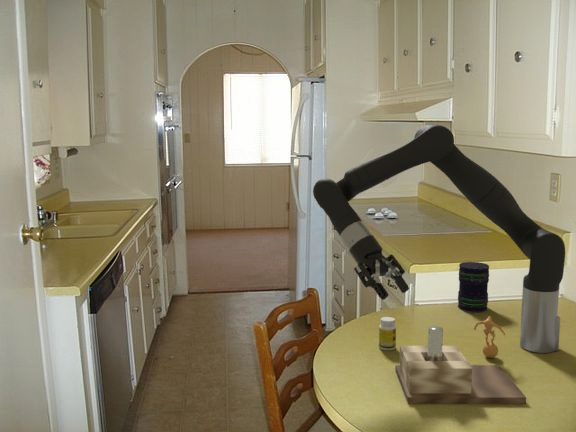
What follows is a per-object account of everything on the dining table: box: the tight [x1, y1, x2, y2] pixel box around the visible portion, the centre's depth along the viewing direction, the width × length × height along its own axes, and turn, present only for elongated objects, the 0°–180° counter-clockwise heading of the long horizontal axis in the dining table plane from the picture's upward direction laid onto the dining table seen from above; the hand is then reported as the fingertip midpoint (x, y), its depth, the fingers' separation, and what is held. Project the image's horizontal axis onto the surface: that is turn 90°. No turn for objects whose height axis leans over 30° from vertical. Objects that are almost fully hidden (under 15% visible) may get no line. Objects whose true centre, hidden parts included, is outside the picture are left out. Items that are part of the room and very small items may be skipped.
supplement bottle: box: [378, 316, 397, 351], centre depth 166 cm, size 5×5×8 cm
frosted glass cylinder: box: [427, 325, 444, 361], centre depth 141 cm, size 3×3×13 cm
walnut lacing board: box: [394, 364, 527, 405], centre depth 142 cm, size 26×18×2 cm
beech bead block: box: [399, 345, 472, 393], centre depth 141 cm, size 14×14×6 cm
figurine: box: [473, 315, 507, 359], centre depth 157 cm, size 8×6×12 cm
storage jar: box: [457, 261, 490, 313], centre depth 201 cm, size 10×10×15 cm
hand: (396, 294), depth 147 cm, fingers open, 8 cm apart
